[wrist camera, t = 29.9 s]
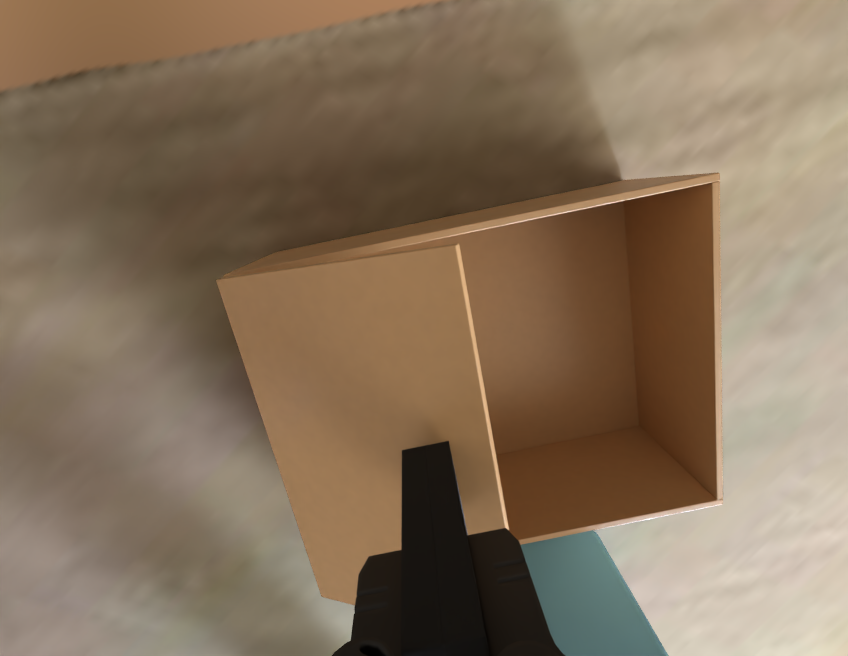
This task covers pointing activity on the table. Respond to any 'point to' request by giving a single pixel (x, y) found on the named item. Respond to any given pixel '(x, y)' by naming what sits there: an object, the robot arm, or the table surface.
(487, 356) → the carton
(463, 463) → the flap
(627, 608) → the light blue flat block
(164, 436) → the table surface
